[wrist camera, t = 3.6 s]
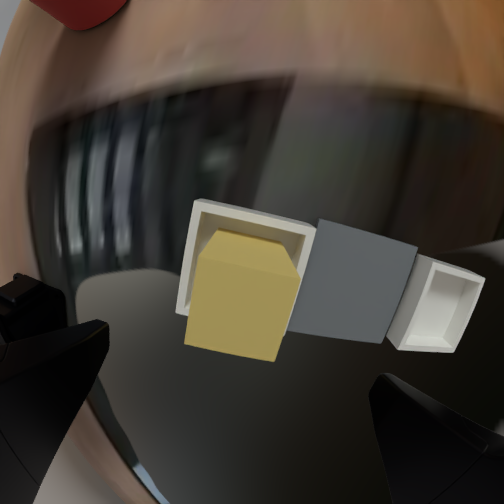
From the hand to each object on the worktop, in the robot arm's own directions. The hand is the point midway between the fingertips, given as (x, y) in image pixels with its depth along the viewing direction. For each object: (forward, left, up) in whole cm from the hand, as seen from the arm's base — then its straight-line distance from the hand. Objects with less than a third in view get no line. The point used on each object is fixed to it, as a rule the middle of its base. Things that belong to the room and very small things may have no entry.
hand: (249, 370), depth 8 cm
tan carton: (0, 0, -10) cm, 10 cm away
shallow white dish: (0, 0, -11) cm, 11 cm away
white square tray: (0, -16, -11) cm, 19 cm away
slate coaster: (0, -8, -11) cm, 13 cm away
